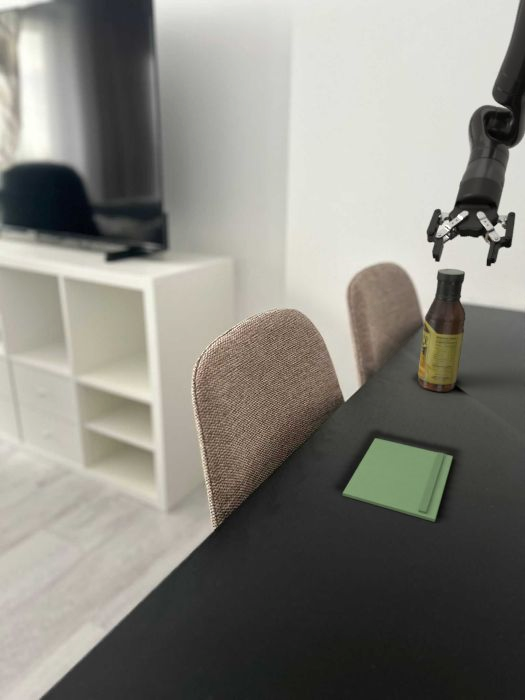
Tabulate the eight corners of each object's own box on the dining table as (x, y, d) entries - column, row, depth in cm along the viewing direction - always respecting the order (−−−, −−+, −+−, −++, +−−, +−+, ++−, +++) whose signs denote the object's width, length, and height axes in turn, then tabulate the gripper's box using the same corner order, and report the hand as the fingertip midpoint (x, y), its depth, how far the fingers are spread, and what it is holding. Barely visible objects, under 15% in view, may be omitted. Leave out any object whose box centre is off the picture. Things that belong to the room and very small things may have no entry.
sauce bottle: (422, 376, 91) (436, 265, 84) (458, 384, 88) (476, 269, 81) (412, 389, 86) (426, 271, 79) (450, 397, 83) (468, 275, 76)
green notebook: (374, 440, 69) (375, 435, 69) (452, 458, 65) (453, 454, 65) (342, 495, 57) (342, 490, 57) (434, 522, 53) (435, 516, 53)
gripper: (521, 206, 95) (505, 278, 89) (441, 203, 101) (421, 270, 95) (524, 176, 88) (508, 251, 83) (439, 174, 95) (418, 244, 89)
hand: (462, 261), depth 89 cm, fingers open, 8 cm apart
